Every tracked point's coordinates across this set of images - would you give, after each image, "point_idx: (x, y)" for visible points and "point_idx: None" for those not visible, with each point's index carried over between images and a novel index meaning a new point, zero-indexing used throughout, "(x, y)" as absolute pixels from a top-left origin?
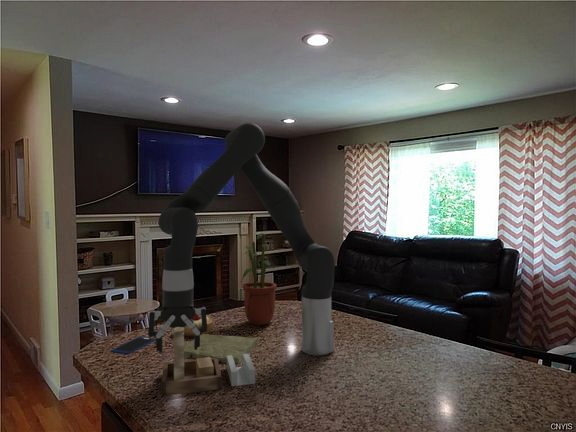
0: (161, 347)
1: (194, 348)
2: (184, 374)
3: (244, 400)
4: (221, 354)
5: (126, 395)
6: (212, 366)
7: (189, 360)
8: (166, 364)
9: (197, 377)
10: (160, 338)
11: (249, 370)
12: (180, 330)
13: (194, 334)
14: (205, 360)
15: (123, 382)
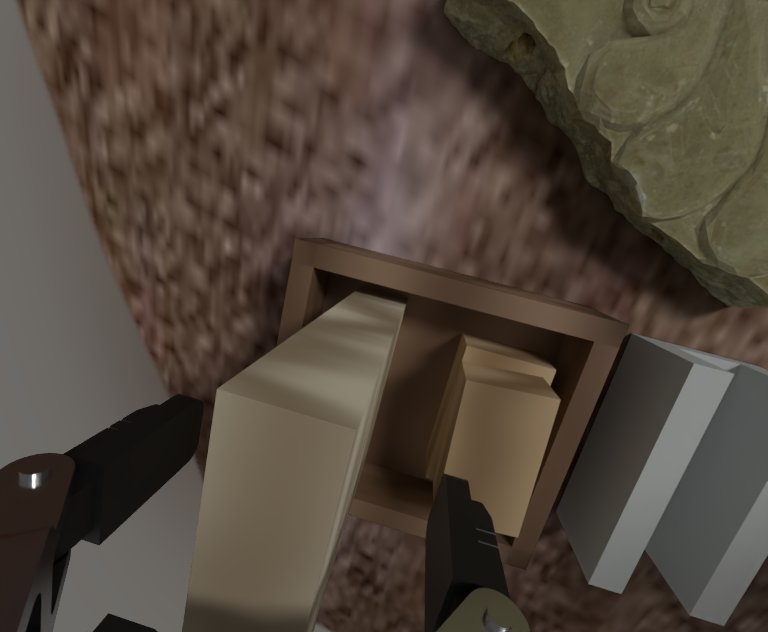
0: (162, 483)
1: (426, 536)
2: (409, 298)
3: (559, 601)
4: (707, 200)
5: (164, 332)
6: (511, 535)
7: (446, 281)
8: (305, 271)
9: (426, 477)
10: (86, 533)
11: (688, 613)
12: (271, 585)
13: (440, 615)
14: (508, 439)
15: (149, 194)
